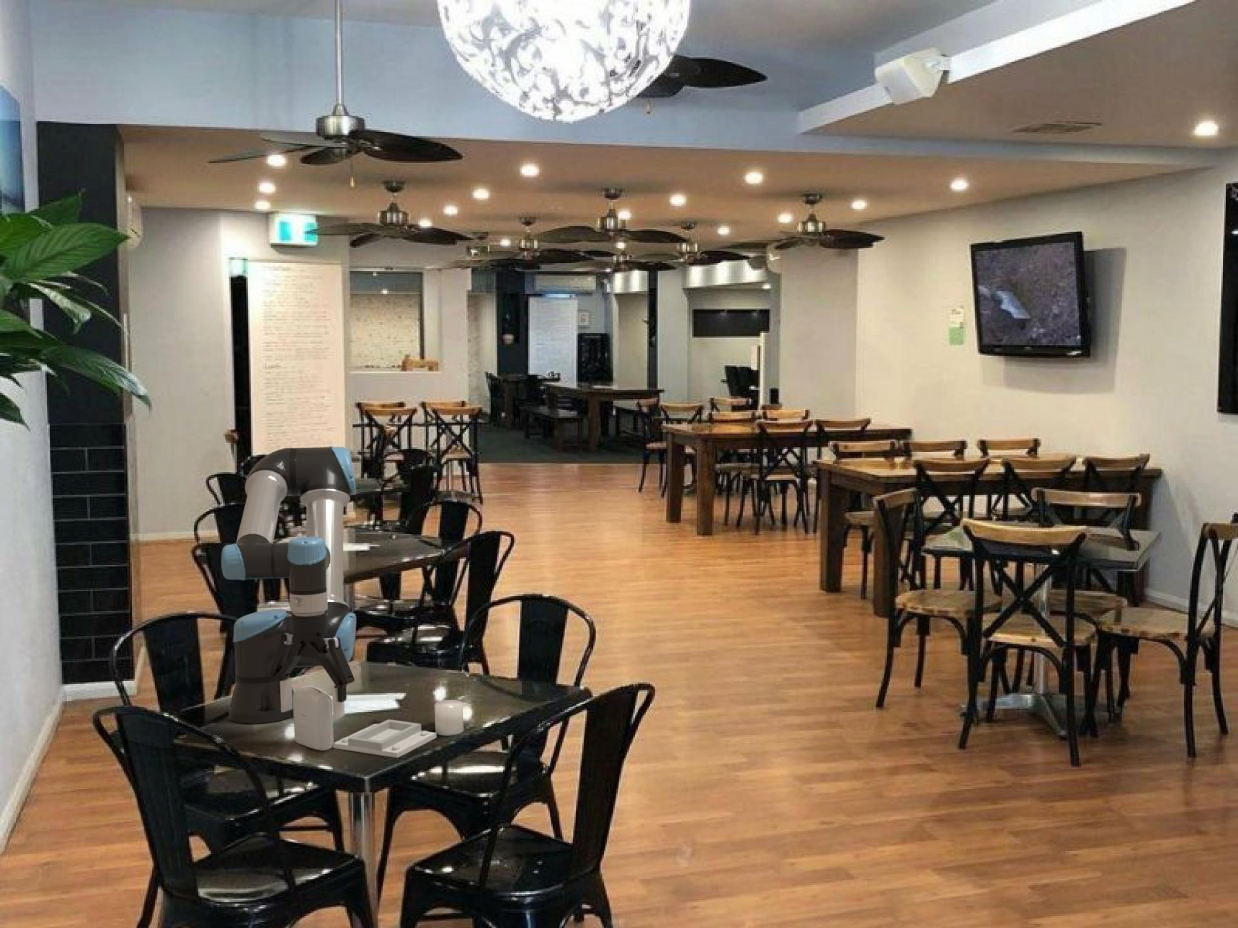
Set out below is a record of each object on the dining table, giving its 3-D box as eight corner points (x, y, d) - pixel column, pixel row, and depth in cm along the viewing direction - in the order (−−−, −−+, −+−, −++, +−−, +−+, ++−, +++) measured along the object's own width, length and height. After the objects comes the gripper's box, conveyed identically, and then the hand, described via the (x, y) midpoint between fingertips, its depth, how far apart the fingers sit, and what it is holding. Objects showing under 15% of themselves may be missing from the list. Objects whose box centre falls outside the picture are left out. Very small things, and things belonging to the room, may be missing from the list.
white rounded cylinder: (429, 733, 256) (429, 705, 255) (445, 725, 261) (444, 698, 260) (453, 736, 253) (452, 709, 252) (468, 728, 258) (468, 701, 258)
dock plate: (333, 747, 247) (332, 736, 246) (374, 728, 259) (374, 717, 259) (397, 757, 240) (396, 745, 240) (436, 737, 252) (436, 725, 252)
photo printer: (291, 742, 251) (289, 684, 250) (309, 737, 254) (307, 680, 253) (319, 752, 244) (316, 693, 243) (336, 747, 247) (334, 689, 246)
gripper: (249, 611, 248) (253, 711, 250) (346, 620, 238) (349, 724, 239) (274, 605, 255) (278, 702, 256) (369, 613, 244) (372, 714, 246)
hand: (312, 713), depth 248 cm, fingers open, 13 cm apart
